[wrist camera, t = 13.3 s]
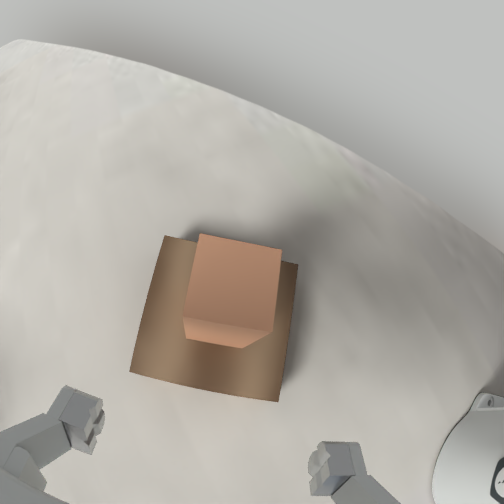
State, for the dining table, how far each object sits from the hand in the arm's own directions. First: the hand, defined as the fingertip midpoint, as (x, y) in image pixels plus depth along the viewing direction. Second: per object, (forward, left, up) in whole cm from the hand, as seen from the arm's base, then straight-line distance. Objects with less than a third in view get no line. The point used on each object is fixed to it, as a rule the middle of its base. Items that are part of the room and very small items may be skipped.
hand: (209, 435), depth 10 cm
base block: (0, -7, -18) cm, 19 cm away
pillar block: (0, -7, -14) cm, 16 cm away
